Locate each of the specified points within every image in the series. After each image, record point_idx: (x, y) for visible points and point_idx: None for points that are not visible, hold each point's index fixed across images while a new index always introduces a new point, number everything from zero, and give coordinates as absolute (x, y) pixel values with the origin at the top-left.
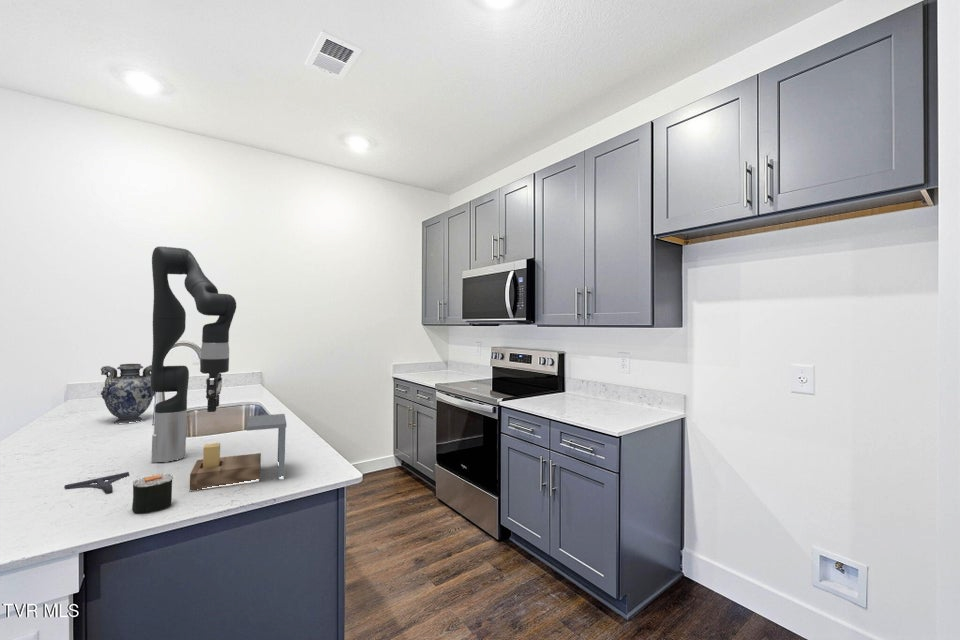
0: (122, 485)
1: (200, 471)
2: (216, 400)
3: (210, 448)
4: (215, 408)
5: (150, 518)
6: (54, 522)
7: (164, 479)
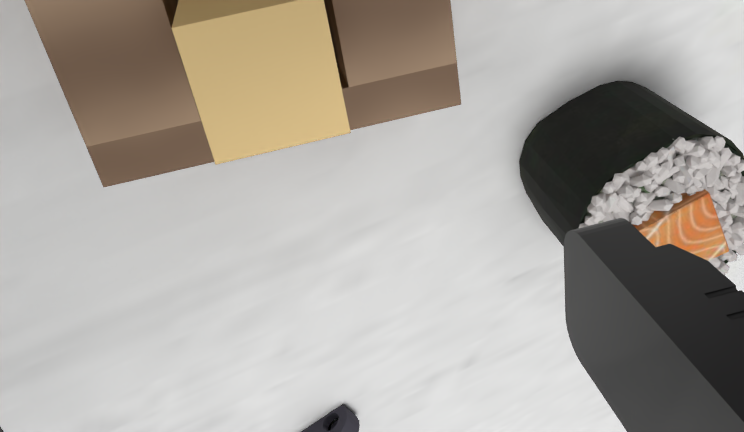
0: (243, 419)
1: (423, 52)
2: (729, 387)
3: (337, 70)
4: (651, 251)
5: (738, 106)
6: (606, 409)
7: (705, 172)
